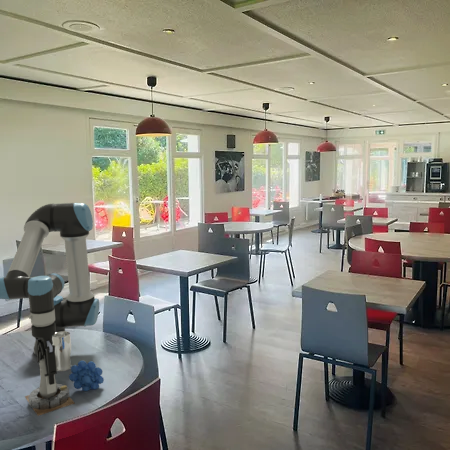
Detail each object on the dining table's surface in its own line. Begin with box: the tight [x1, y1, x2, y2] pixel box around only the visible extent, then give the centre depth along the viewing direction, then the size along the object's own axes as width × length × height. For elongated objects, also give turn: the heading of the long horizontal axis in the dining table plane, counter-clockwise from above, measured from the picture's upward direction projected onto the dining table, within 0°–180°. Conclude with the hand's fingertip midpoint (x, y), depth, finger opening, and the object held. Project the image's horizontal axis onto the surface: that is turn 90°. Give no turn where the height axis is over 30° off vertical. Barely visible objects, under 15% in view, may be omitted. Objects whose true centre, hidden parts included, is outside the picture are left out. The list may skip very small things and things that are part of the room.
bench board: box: [24, 394, 76, 417], centre depth 156 cm, size 16×12×1 cm
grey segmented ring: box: [27, 383, 70, 410], centre depth 155 cm, size 12×12×3 cm
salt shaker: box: [38, 359, 58, 398], centre depth 155 cm, size 6×6×13 cm
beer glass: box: [52, 330, 72, 372], centre depth 179 cm, size 7×7×15 cm
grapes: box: [68, 359, 105, 392], centre depth 161 cm, size 12×7×12 cm, turn 106°
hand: (48, 388), depth 155 cm, fingers open, 6 cm apart
